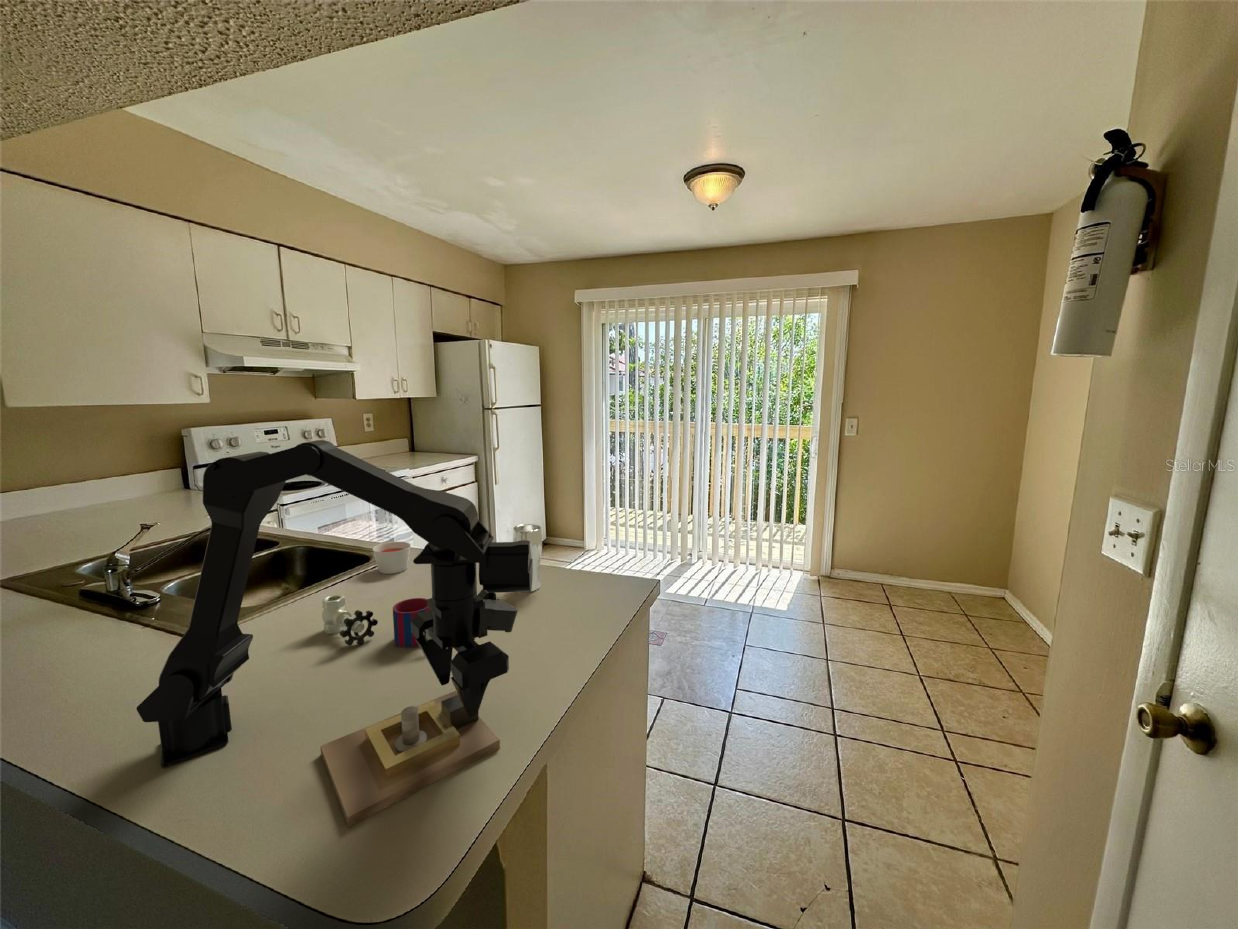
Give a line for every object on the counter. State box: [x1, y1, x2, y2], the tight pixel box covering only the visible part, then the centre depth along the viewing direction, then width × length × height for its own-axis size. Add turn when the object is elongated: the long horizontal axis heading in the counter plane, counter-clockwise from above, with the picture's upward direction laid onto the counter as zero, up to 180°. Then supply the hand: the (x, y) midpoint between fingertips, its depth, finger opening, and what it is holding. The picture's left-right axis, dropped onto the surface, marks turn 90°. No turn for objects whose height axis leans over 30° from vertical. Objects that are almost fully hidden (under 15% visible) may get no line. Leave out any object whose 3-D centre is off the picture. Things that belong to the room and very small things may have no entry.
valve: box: [321, 594, 379, 647], centre depth 92 cm, size 7×7×12 cm
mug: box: [392, 597, 430, 649], centre depth 90 cm, size 7×10×7 cm
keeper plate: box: [320, 690, 501, 828], centre depth 62 cm, size 18×14×6 cm
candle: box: [372, 541, 411, 575], centre depth 126 cm, size 9×9×6 cm
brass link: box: [365, 695, 480, 781], centre depth 64 cm, size 13×9×3 cm
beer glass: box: [512, 523, 543, 593], centre depth 115 cm, size 7×7×15 cm
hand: (458, 699), depth 66 cm, fingers open, 9 cm apart
